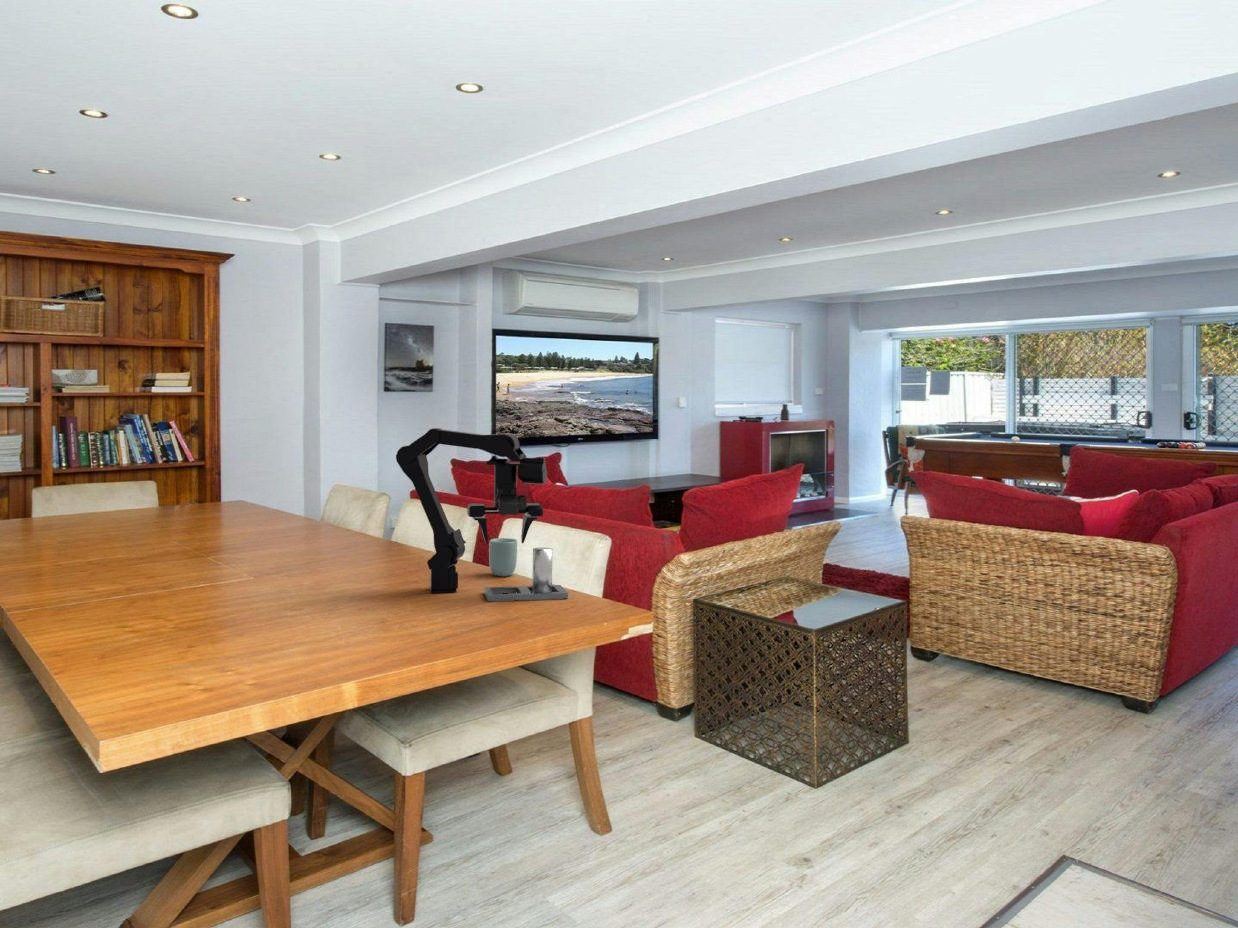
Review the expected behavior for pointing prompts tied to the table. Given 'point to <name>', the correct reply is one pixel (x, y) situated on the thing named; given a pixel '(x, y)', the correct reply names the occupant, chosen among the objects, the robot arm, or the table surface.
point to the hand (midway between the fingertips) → (504, 543)
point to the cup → (503, 556)
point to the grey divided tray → (523, 593)
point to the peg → (542, 570)
